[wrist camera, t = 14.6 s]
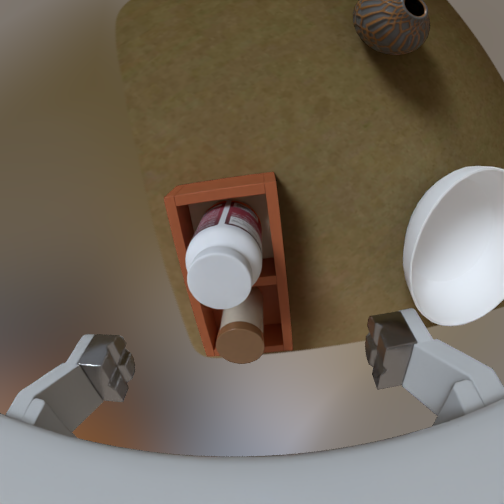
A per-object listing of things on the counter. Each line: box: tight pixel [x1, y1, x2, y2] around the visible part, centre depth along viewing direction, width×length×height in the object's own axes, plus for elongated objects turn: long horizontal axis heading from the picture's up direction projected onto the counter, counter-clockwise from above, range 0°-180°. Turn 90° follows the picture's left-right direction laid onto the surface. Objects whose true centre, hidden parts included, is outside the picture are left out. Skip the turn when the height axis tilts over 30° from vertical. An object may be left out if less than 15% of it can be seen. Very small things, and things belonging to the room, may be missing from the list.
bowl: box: [403, 166, 504, 326], centre depth 28 cm, size 18×18×7 cm
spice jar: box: [216, 286, 265, 364], centre depth 32 cm, size 5×5×8 cm
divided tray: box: [164, 172, 293, 356], centre depth 32 cm, size 10×19×5 cm, turn 8°
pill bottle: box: [185, 200, 262, 309], centre depth 27 cm, size 6×6×11 cm
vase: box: [353, 0, 430, 55], centre depth 19 cm, size 7×7×9 cm
